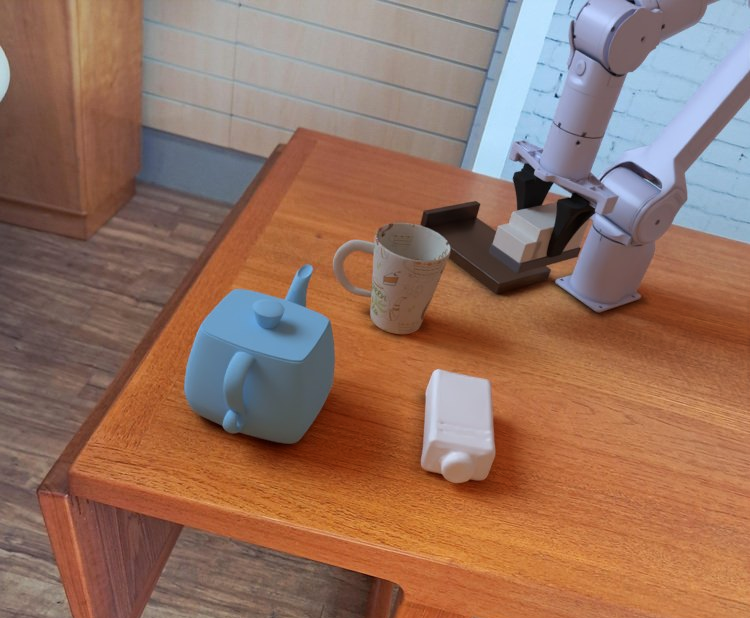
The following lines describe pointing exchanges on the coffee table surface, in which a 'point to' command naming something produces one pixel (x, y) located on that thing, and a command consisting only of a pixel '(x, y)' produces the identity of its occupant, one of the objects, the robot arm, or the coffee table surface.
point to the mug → (398, 273)
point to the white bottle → (458, 427)
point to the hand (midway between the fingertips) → (537, 244)
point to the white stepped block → (532, 239)
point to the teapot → (262, 363)
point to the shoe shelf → (477, 247)
